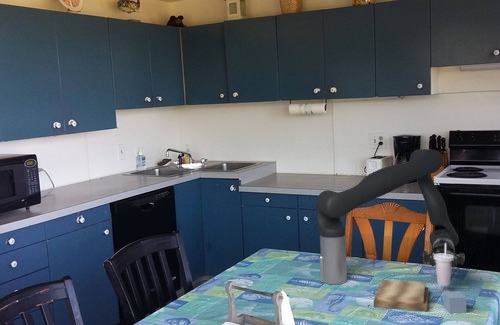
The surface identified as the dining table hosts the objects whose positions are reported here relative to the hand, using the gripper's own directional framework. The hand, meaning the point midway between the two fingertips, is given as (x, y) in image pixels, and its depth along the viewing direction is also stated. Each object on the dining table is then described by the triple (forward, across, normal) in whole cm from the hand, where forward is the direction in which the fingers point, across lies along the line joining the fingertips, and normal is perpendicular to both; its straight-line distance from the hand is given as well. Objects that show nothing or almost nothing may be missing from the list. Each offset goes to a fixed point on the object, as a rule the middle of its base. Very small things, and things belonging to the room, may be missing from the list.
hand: (443, 264), depth 173 cm
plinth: (+8, -13, +10) cm, 18 cm away
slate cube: (+13, +3, +10) cm, 17 cm away
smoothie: (-2, 0, +8) cm, 8 cm away
